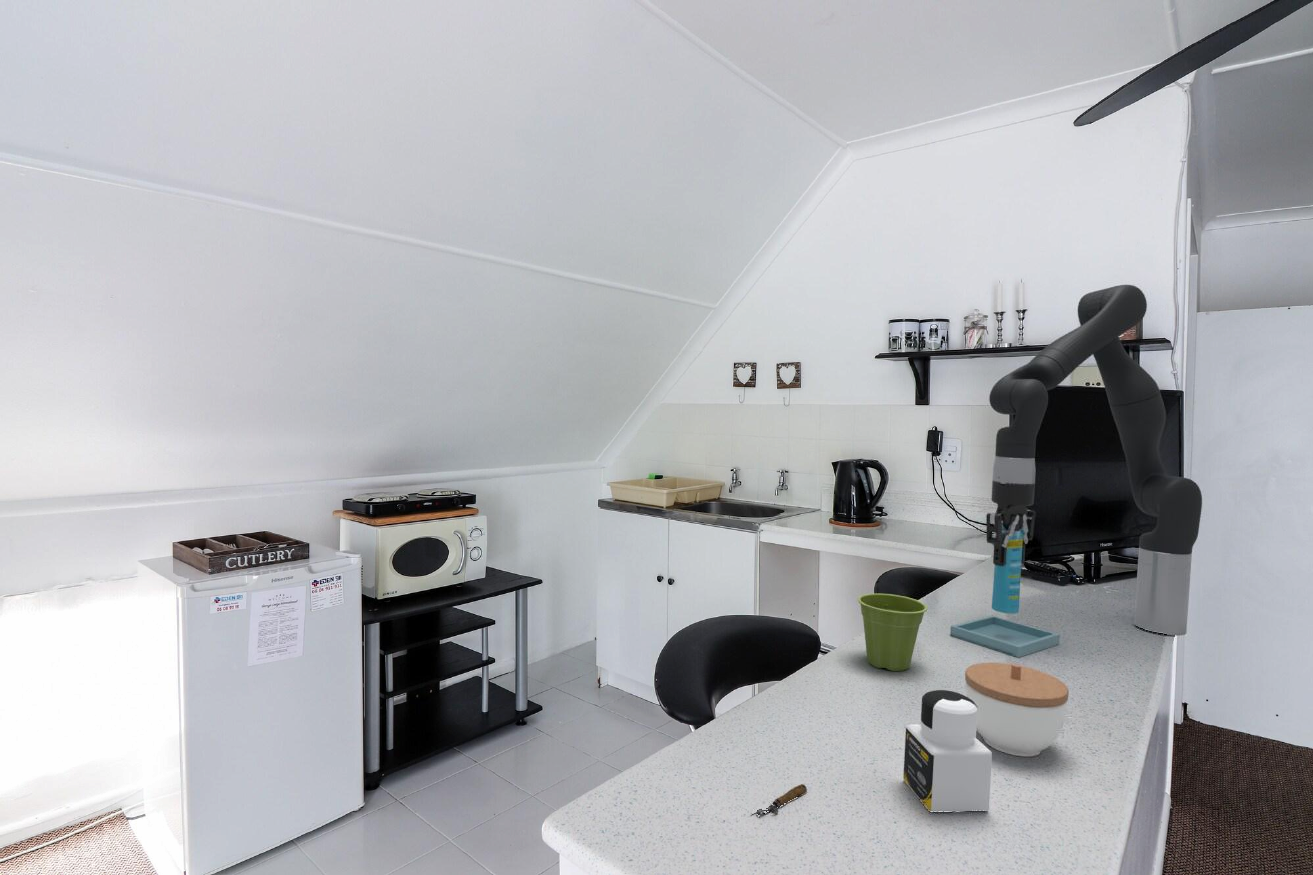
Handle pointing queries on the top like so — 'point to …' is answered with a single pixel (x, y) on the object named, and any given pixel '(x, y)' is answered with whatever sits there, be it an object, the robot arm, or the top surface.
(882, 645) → the plant pot
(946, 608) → the top surface
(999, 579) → the tube
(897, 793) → the top surface
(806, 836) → the top surface
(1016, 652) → the tray
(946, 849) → the top surface
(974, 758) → the medicine bottle
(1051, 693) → the lidded bowl
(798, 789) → the can opener
